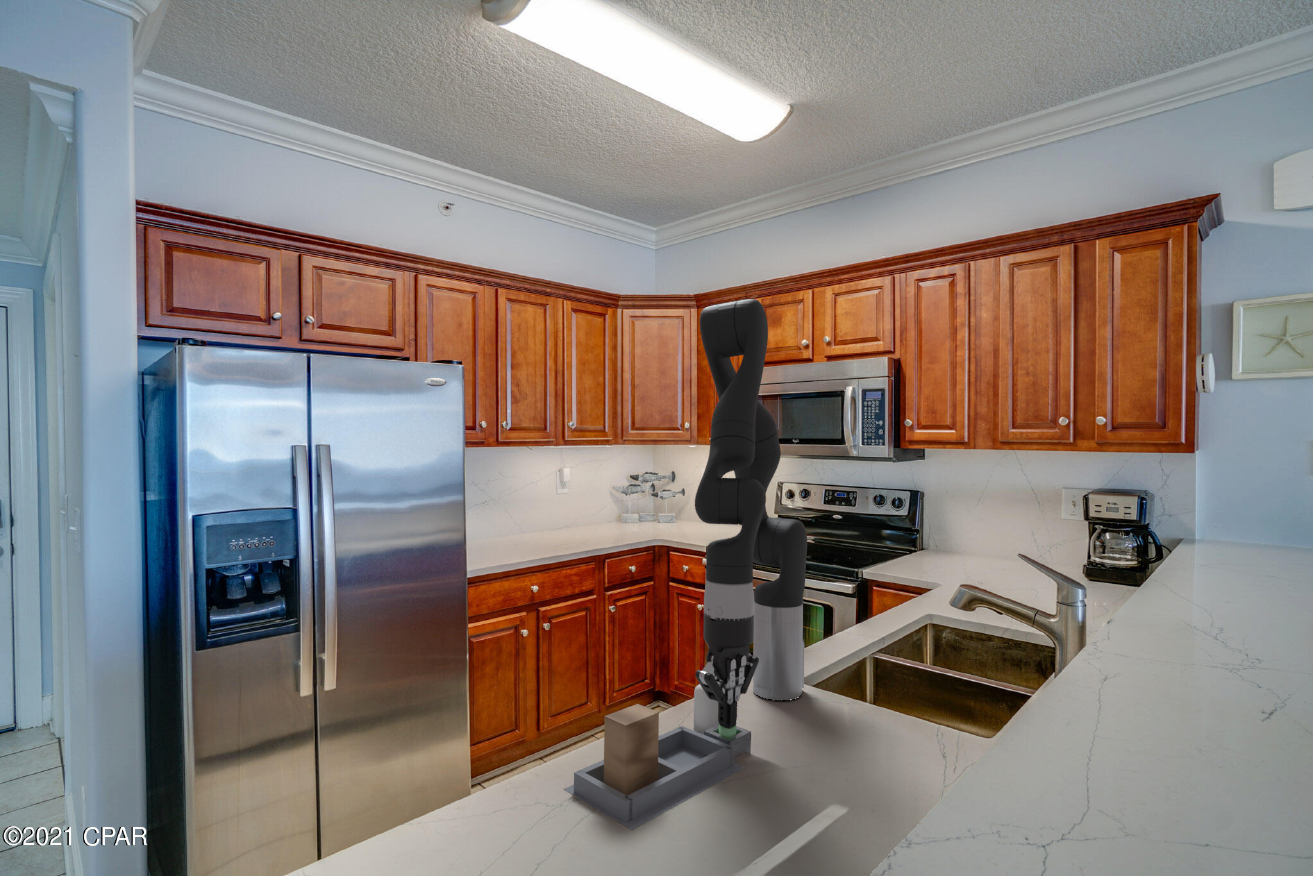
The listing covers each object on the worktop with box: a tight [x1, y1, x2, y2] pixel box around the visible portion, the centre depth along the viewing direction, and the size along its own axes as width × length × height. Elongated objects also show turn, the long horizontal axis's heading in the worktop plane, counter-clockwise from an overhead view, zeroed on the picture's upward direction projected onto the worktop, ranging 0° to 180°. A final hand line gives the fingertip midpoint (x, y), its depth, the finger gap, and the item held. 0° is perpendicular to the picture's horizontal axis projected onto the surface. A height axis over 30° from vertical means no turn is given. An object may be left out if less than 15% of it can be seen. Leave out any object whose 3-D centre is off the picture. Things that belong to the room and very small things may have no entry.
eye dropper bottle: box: [693, 683, 719, 735], centre depth 107 cm, size 4×6×12 cm
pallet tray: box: [563, 725, 745, 831], centre depth 91 cm, size 22×13×4 cm, turn 136°
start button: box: [719, 724, 737, 738], centre depth 100 cm, size 3×3×3 cm
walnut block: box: [603, 703, 660, 796], centre depth 87 cm, size 6×4×10 cm, turn 136°
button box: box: [704, 724, 752, 758], centre depth 100 cm, size 5×5×4 cm
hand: (727, 725), depth 100 cm, fingers closed
